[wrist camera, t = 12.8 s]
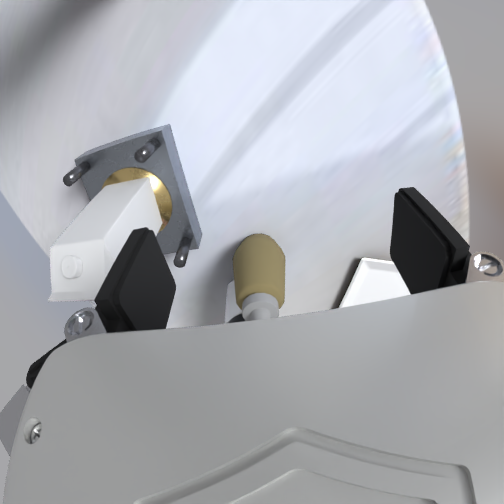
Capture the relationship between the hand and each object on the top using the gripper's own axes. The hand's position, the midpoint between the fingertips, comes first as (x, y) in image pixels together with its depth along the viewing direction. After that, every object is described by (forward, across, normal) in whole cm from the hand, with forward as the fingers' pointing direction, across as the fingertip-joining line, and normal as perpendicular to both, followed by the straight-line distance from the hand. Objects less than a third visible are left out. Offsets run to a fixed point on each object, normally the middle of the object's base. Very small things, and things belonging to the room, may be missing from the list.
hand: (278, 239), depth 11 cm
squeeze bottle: (+31, +4, +21) cm, 37 cm away
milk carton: (+26, +19, +8) cm, 33 cm away
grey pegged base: (+30, +19, +8) cm, 37 cm away
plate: (+31, -19, +37) cm, 52 cm away
